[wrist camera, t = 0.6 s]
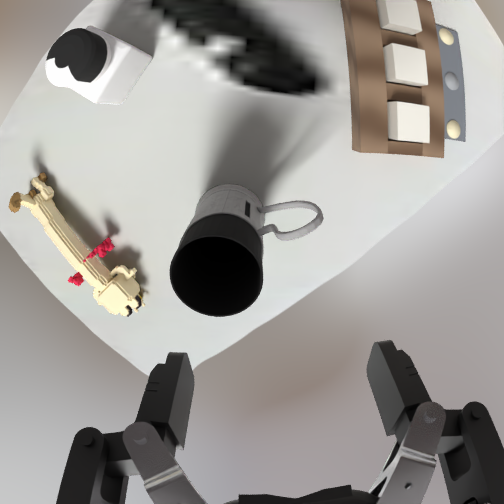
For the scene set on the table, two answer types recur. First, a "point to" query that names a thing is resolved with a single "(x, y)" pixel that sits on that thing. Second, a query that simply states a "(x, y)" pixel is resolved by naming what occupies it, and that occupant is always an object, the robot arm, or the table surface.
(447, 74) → the pattern card
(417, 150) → the button board
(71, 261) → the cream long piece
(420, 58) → the button mid
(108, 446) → the robot arm
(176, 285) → the grey mug
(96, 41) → the medicine bottle
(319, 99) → the table surface
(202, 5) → the table surface
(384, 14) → the button
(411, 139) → the button
